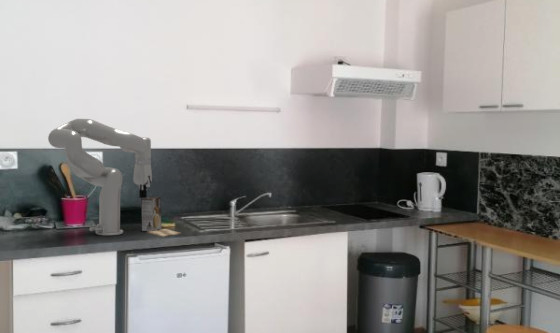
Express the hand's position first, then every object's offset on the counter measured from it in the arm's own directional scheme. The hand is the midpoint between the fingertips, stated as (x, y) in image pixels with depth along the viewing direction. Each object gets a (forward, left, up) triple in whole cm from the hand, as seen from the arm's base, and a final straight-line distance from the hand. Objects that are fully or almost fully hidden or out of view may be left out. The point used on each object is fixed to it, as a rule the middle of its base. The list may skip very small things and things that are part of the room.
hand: (142, 197), depth 270 cm
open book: (0, -19, -16) cm, 24 cm away
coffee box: (0, -9, -16) cm, 18 cm away
